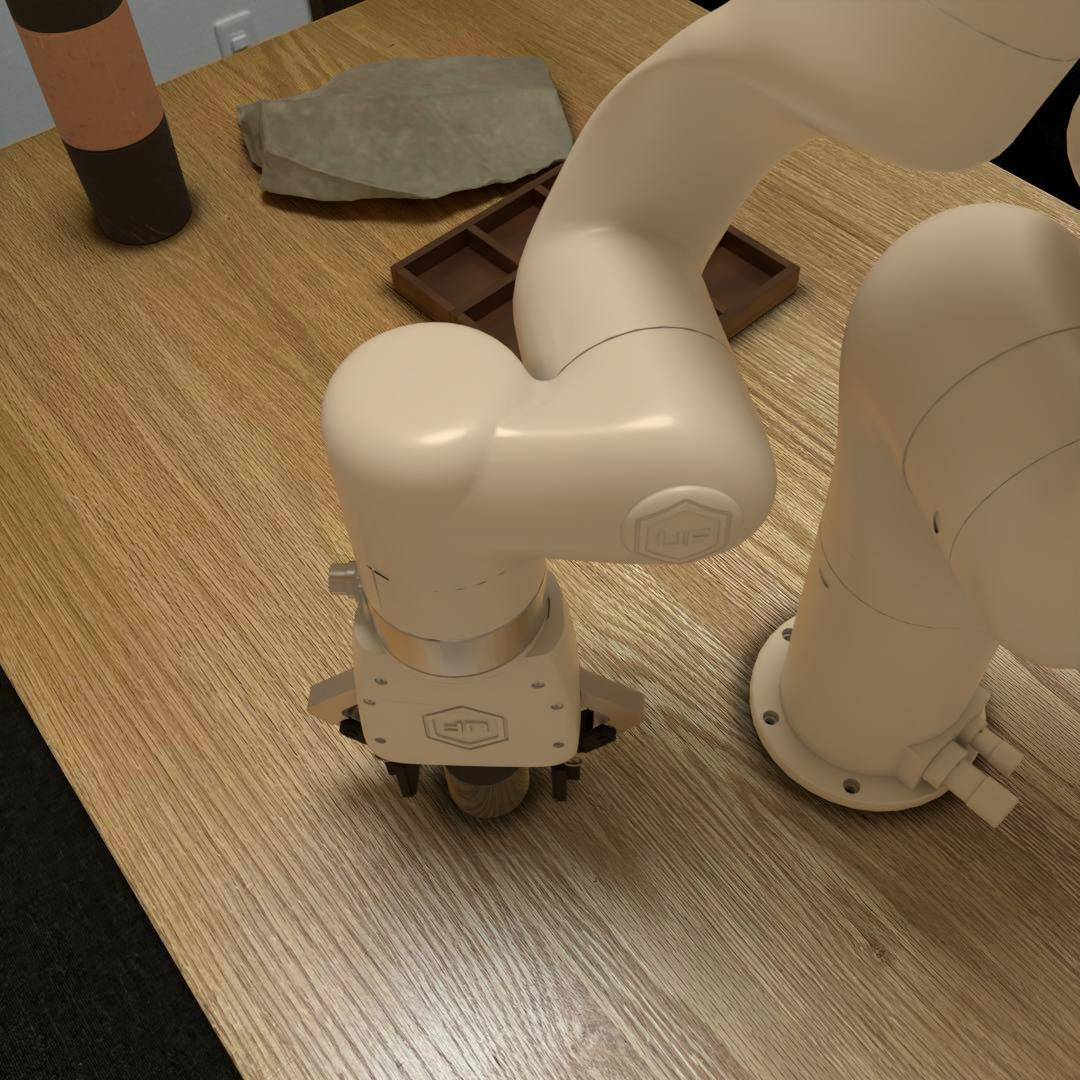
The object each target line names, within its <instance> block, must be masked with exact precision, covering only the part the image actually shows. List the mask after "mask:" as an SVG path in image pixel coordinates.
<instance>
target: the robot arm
mask: <svg viewBox="0 0 1080 1080" xmlns="http://www.w3.org/2000/svg"><path fill="white" fill-rule="evenodd" d="M1079 59H1080V0H728V1H727V2H726V3H724V4H722V5H721V6H719V7H718V8H716V9H714V10H712V11H710V12H708V13H706V14H705V15H703V16H701V17H699V18H698V19H697V20H695V21H693V22H692V23H690V24H689V25H688V26H686V27H684V28H683V29H682V30H680V31H679V32H677V33H676V34H675V35H674V36H673V37H671V38H670V39H669V40H667V41H666V42H665V43H664V44H662V46H660V47H658V49H656V50H655V52H653V53H652V54H651V55H650V56H648V57H647V58H646V59H645V60H643V61H641V63H640V64H639V65H638V66H636V67H635V68H634V69H632V70H631V71H630V72H628V73H627V75H625V76H624V77H623V78H622V79H621V80H620V81H619V82H617V84H615V86H614V87H613V88H612V89H611V90H610V91H609V93H608V94H607V95H606V96H605V97H604V98H603V100H601V102H600V103H599V104H598V105H597V106H596V108H595V109H594V111H593V112H592V114H591V115H590V117H589V118H588V120H587V121H586V122H585V124H584V126H583V128H582V129H581V131H580V133H579V135H578V136H577V138H576V139H575V142H573V147H572V149H571V151H570V153H569V155H568V157H567V159H566V161H565V163H564V165H563V167H562V169H561V171H560V173H559V175H558V177H557V179H556V181H555V183H554V185H553V187H552V189H551V191H550V193H549V195H548V197H547V199H546V201H545V203H544V205H543V207H542V209H541V211H540V213H539V215H538V217H537V219H536V221H535V224H534V226H533V228H532V231H531V233H530V235H529V238H528V240H527V243H526V245H525V248H524V251H523V254H522V257H521V260H520V263H519V266H518V271H517V275H516V281H515V287H514V294H513V317H514V325H515V330H516V335H517V341H518V346H519V350H520V354H521V359H522V363H523V364H522V363H521V361H520V360H519V359H518V358H517V357H516V356H515V354H514V353H513V352H512V351H511V350H510V349H509V348H507V347H506V346H505V345H504V344H502V343H501V342H500V341H498V340H497V339H495V338H493V337H492V336H490V335H488V334H486V333H484V332H482V331H480V330H477V329H474V328H471V327H468V326H464V325H459V324H453V323H442V322H435V321H429V322H416V323H411V324H406V325H401V326H397V327H395V328H391V329H388V330H385V331H383V332H381V333H379V334H377V335H375V336H372V337H370V338H369V339H367V340H366V341H364V342H363V343H362V344H360V345H359V346H357V347H356V348H354V349H353V350H352V351H351V352H350V353H349V354H347V356H346V357H345V358H344V360H342V361H341V363H340V364H339V365H338V366H337V368H336V369H335V371H334V372H333V373H332V376H331V377H330V379H329V380H328V383H327V386H326V389H325V391H324V395H323V397H322V403H321V410H320V431H321V437H322V441H323V447H324V452H325V455H326V459H327V462H328V465H329V469H330V473H331V477H332V480H333V484H334V489H335V492H336V496H337V499H338V503H339V507H340V510H341V513H342V517H343V521H344V524H345V529H346V532H347V535H348V539H349V542H350V545H351V546H350V547H351V549H352V554H353V557H354V560H348V562H347V563H346V562H345V563H339V562H338V563H337V562H332V563H331V564H330V566H329V570H328V592H329V594H330V595H332V596H347V598H348V599H350V600H355V603H358V604H357V607H356V610H355V613H354V617H353V623H352V635H351V638H352V639H351V649H352V650H351V653H352V654H351V655H352V668H349V669H347V670H345V671H343V672H341V673H338V674H336V675H334V676H331V677H329V678H327V679H324V680H322V681H319V682H317V683H315V684H312V686H310V688H309V693H308V699H307V704H306V712H307V713H308V714H310V715H311V716H313V717H315V718H317V719H319V720H321V721H323V722H325V723H327V724H329V725H331V726H335V725H337V726H338V728H339V729H338V732H339V733H340V734H341V736H344V737H345V738H347V739H351V740H354V741H356V742H359V743H361V744H363V745H364V746H365V745H366V746H367V747H368V748H369V749H370V751H371V752H372V758H373V759H374V760H376V761H379V762H384V764H385V768H386V771H387V774H388V776H395V778H396V780H397V783H398V784H397V785H398V786H399V790H400V793H401V796H402V798H405V799H406V798H408V799H410V798H413V797H414V796H417V795H418V786H419V780H420V779H419V778H420V769H421V765H433V766H443V765H457V766H498V767H529V768H543V767H544V768H545V767H550V771H551V772H550V775H551V776H550V777H551V789H552V790H551V791H552V792H551V793H552V800H556V802H557V803H567V793H568V791H567V790H568V781H581V766H583V765H584V764H585V763H586V754H588V753H591V752H593V751H596V750H597V749H600V748H602V747H604V746H607V745H609V744H611V743H614V742H616V741H617V734H619V733H620V732H621V733H626V732H627V731H629V730H631V729H632V728H635V727H636V726H637V725H639V724H642V723H643V722H644V721H646V696H645V694H644V693H642V692H640V691H638V690H635V689H634V688H631V687H628V686H626V685H624V684H621V683H619V682H616V681H614V680H611V679H609V678H607V677H605V676H602V675H600V674H598V673H595V672H593V671H590V670H588V669H586V668H583V667H581V662H580V652H579V648H578V641H577V640H578V639H577V635H576V630H575V625H574V621H573V617H572V613H571V610H570V608H569V605H568V601H567V599H566V597H565V594H564V592H563V590H562V588H561V585H560V584H559V582H558V580H557V578H556V577H555V575H554V574H553V572H552V571H550V570H549V569H548V567H547V560H548V559H549V560H563V561H564V560H565V561H577V562H579V561H580V562H589V563H604V564H617V565H641V566H643V565H645V566H646V565H647V566H650V565H653V566H654V565H666V566H676V565H677V566H678V565H688V564H693V563H696V562H700V561H703V560H706V559H710V558H712V557H715V556H718V555H722V554H724V553H726V552H729V551H730V550H732V549H734V548H737V547H738V546H740V545H741V544H743V543H745V541H747V540H748V539H750V538H751V537H752V536H754V535H755V533H756V532H757V531H758V530H759V529H760V528H761V527H762V526H763V525H764V523H765V522H766V520H767V518H768V517H769V515H770V513H771V511H772V510H773V506H774V503H775V499H776V495H777V488H778V486H777V485H778V476H777V475H778V474H777V466H776V460H775V457H774V453H773V450H772V447H771V443H770V440H769V438H768V435H767V432H766V430H765V427H764V424H763V422H762V420H761V418H760V415H759V413H758V410H757V407H756V405H755V403H754V400H753V399H752V396H751V393H750V391H749V389H748V386H747V384H746V382H745V379H744V377H743V376H744V375H743V374H742V371H741V370H740V366H739V364H738V361H737V359H736V357H735V354H734V352H733V349H732V347H731V345H730V341H729V340H727V337H726V335H725V333H724V330H723V328H722V325H721V323H720V320H719V318H718V316H717V313H716V311H715V308H714V306H713V303H712V301H711V298H710V296H709V293H708V290H707V287H706V285H705V282H704V280H703V278H702V273H703V270H704V268H705V266H706V264H707V262H708V260H709V258H710V256H711V255H712V253H713V251H714V250H715V248H716V246H717V245H718V243H719V242H720V240H721V238H722V237H723V235H724V234H725V232H726V230H727V229H728V227H729V226H730V225H732V222H733V221H734V220H735V218H736V216H737V215H738V213H740V211H741V209H742V207H744V204H745V203H746V202H747V200H748V198H749V197H750V196H751V194H752V193H753V192H754V191H755V190H756V188H757V187H758V185H759V184H760V183H761V182H762V181H763V179H764V178H766V176H768V175H769V173H770V172H771V171H772V170H773V169H774V168H775V167H776V166H777V165H778V164H780V162H783V160H785V158H787V157H789V155H791V154H793V152H795V151H796V150H798V149H800V148H801V147H803V146H805V145H807V144H808V143H810V142H813V141H814V140H815V141H816V140H818V139H820V138H824V137H826V138H827V139H830V140H832V141H835V142H836V143H838V144H840V145H842V146H844V147H847V148H850V150H851V149H852V150H853V151H856V152H859V153H861V154H863V155H866V156H869V157H870V158H871V157H872V158H874V159H877V160H880V161H882V162H885V163H887V164H889V165H893V166H897V167H901V168H904V169H907V170H908V169H909V170H913V171H918V172H929V173H938V174H939V173H940V174H941V173H942V174H956V173H959V172H960V173H961V172H965V171H968V170H972V169H977V168H980V167H982V166H983V165H985V164H986V163H987V164H988V163H989V162H990V161H992V160H994V159H996V158H997V157H999V156H1001V155H1002V154H1003V152H1004V151H1006V149H1008V148H1009V147H1010V146H1011V144H1012V143H1014V141H1015V140H1016V139H1017V137H1018V136H1019V135H1020V134H1021V132H1022V131H1023V130H1024V128H1025V127H1026V126H1027V125H1028V123H1030V120H1032V118H1033V117H1034V115H1035V114H1036V113H1037V112H1038V110H1039V109H1040V108H1041V107H1042V106H1043V104H1044V103H1045V102H1046V100H1047V99H1048V98H1049V97H1050V95H1051V94H1052V93H1053V91H1054V90H1055V89H1056V88H1057V87H1058V86H1059V84H1060V83H1061V82H1062V80H1063V79H1064V78H1065V77H1066V75H1067V74H1068V73H1069V72H1070V70H1071V69H1072V68H1073V67H1074V65H1075V64H1076V63H1077V61H1078V60H1079ZM1066 151H1067V153H1066V154H1067V158H1068V161H1069V164H1070V167H1071V170H1072V173H1073V176H1074V179H1075V181H1076V182H1077V185H1078V186H1079V187H1080V94H1079V95H1078V97H1077V99H1076V101H1075V103H1074V105H1073V107H1072V110H1071V113H1070V117H1069V121H1068V125H1067V129H1066ZM837 401H838V403H837V433H836V444H835V453H834V460H833V465H832V471H831V474H830V475H831V476H830V481H829V485H828V488H827V493H826V497H825V502H824V505H823V509H822V511H821V515H820V519H819V522H818V527H817V531H816V535H815V539H814V543H813V546H812V549H811V556H810V559H809V563H808V566H807V570H806V574H805V579H804V583H803V586H802V591H801V594H800V599H799V602H798V605H797V609H796V614H795V615H793V616H792V617H791V618H789V619H788V620H786V621H785V622H783V623H781V624H780V625H779V626H778V628H776V630H774V631H773V632H772V633H771V634H770V635H769V636H768V638H767V639H766V641H765V643H764V644H763V645H762V647H761V649H760V650H759V652H758V654H757V658H756V659H755V662H754V666H753V668H752V673H751V677H750V683H749V708H750V713H751V718H752V719H751V720H752V723H753V726H754V728H755V731H756V733H757V736H758V738H759V740H760V743H761V744H762V746H763V747H764V748H765V750H766V752H767V753H768V755H769V756H770V758H771V759H772V760H773V762H774V763H775V764H776V765H777V766H778V767H779V768H780V769H781V770H782V771H783V772H784V773H785V774H786V775H787V777H788V778H790V779H792V781H794V782H796V783H797V784H799V785H800V786H801V787H803V788H804V789H805V790H807V791H808V792H810V793H812V794H814V795H816V796H818V797H819V798H820V797H821V798H822V799H824V800H825V801H828V802H830V803H834V804H837V805H840V806H843V807H847V808H848V809H849V808H850V809H852V810H853V809H855V810H862V811H867V812H868V811H869V812H897V811H898V812H899V811H903V810H908V809H911V808H916V807H920V806H922V805H925V804H927V803H929V802H932V801H934V800H935V799H938V798H940V797H942V796H943V795H944V794H946V793H947V792H948V791H950V792H951V793H952V794H953V795H955V797H957V798H959V800H961V801H962V802H963V803H964V805H965V806H966V807H968V808H969V809H970V810H971V811H973V813H975V814H976V815H977V816H978V817H980V818H981V819H982V820H984V822H986V823H987V824H988V825H989V826H990V827H992V828H993V829H997V827H998V826H1000V824H1001V823H1002V822H1003V821H1004V820H1005V819H1006V818H1007V817H1008V815H1009V814H1010V813H1011V811H1012V810H1013V809H1014V808H1016V805H1017V804H1018V803H1019V801H1020V798H1019V797H1017V796H1016V795H1015V794H1013V793H1012V792H1011V791H1010V790H1009V789H1007V787H1005V786H1003V785H1002V784H1001V783H1000V782H998V781H997V780H995V779H994V778H993V777H992V776H990V775H989V776H988V775H986V773H984V772H983V771H982V770H980V769H978V767H976V765H974V764H973V763H974V761H975V759H976V758H977V756H978V754H979V755H981V756H982V757H983V758H984V759H986V762H987V763H988V764H990V765H991V766H992V767H994V768H995V769H997V770H998V771H999V772H1000V773H1001V774H1002V775H1004V776H1005V777H1009V776H1010V775H1011V774H1012V773H1013V772H1014V771H1015V769H1017V767H1018V766H1020V764H1021V762H1022V761H1023V760H1024V758H1025V755H1024V754H1023V753H1021V752H1020V751H1019V750H1017V749H1016V748H1015V747H1014V746H1012V745H1011V744H1010V743H1009V742H1007V741H1006V740H1005V739H1003V740H1002V739H1001V738H1000V737H999V736H997V735H996V734H995V733H993V732H992V731H990V730H989V729H988V728H987V727H988V725H989V723H988V721H987V714H986V706H987V704H988V702H989V700H990V699H991V697H992V694H991V692H990V691H988V690H987V689H986V688H984V687H983V686H981V685H980V683H981V681H982V679H983V677H984V675H985V673H986V672H987V670H988V668H989V666H990V664H991V662H992V660H993V657H994V656H995V655H996V652H997V651H998V649H999V647H1000V645H1001V646H1002V647H1003V648H1004V649H1006V650H1007V651H1008V652H1009V653H1011V654H1013V655H1014V656H1016V657H1018V658H1020V659H1022V660H1024V661H1027V662H1028V663H1030V664H1033V665H1037V666H1041V667H1044V668H1045V667H1046V668H1051V669H1056V670H1080V238H1079V237H1078V236H1077V235H1075V234H1074V233H1073V232H1072V231H1070V230H1069V229H1068V228H1067V227H1065V226H1063V224H1061V223H1060V222H1059V221H1056V220H1054V219H1053V218H1051V217H1049V216H1047V215H1045V214H1043V213H1041V212H1040V211H1036V210H1034V209H1032V208H1028V207H1025V206H1022V205H1017V204H1012V203H1008V202H1006V203H1005V202H989V201H987V202H977V203H969V204H964V205H959V206H957V207H956V206H955V207H952V208H951V207H950V208H949V209H946V210H943V211H941V212H938V213H935V214H934V215H931V216H929V217H927V218H926V219H923V220H922V221H920V222H919V223H917V224H916V225H914V226H913V227H911V228H910V229H908V230H907V231H905V232H904V233H903V234H901V235H900V236H899V237H898V238H897V239H896V240H895V241H894V242H893V243H891V244H890V245H889V246H888V247H887V249H886V250H885V251H884V252H883V253H882V254H881V255H880V256H879V257H878V259H877V260H876V261H875V262H874V264H873V265H872V266H871V268H870V270H869V271H868V272H867V273H866V276H865V277H864V279H863V281H862V283H861V284H860V286H859V288H858V290H857V292H856V295H855V297H854V299H853V302H852V304H851V306H850V309H849V312H848V316H847V320H846V323H845V328H844V332H843V336H842V342H841V349H840V359H839V370H838V400H837ZM768 723H770V724H768ZM846 790H849V791H851V792H852V793H850V792H848V791H846Z"/></svg>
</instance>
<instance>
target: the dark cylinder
mask: <svg viewBox="0 0 1080 1080" xmlns="http://www.w3.org/2000/svg"><path fill="white" fill-rule="evenodd" d="M442 766H443V769H444V774H445V779H446V783H447V788H448V791H449V795H450V797H451V799H452V800H453V802H454V804H455V805H456V806H457V807H458V808H459V809H460V810H462V812H464V813H466V814H467V815H469V816H472V817H476V818H481V819H494V818H498V817H502V816H504V815H507V814H509V813H510V812H512V811H514V810H515V809H516V808H517V807H518V806H519V805H520V804H521V803H522V802H523V801H524V799H525V797H526V796H527V794H528V791H529V787H530V779H531V778H530V767H498V766H457V765H442Z"/></svg>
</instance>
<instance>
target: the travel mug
mask: <svg viewBox="0 0 1080 1080" xmlns="http://www.w3.org/2000/svg"><path fill="white" fill-rule="evenodd" d="M4 2H5V5H6V6H7V9H8V11H9V14H10V16H11V19H12V21H13V24H14V27H15V29H16V32H17V34H18V37H19V38H20V41H21V43H22V46H23V49H24V51H25V53H26V54H25V55H26V56H27V59H28V61H29V64H30V66H31V68H32V71H33V73H34V76H35V78H36V81H37V83H38V85H39V88H40V91H41V93H42V96H43V98H44V101H45V104H46V106H47V109H48V111H49V113H50V115H51V118H52V121H53V123H54V126H55V128H56V131H57V133H58V135H59V137H60V139H61V142H62V145H63V146H64V149H65V151H66V153H67V155H68V157H69V160H70V162H71V164H72V166H73V168H74V170H75V172H76V175H77V177H78V179H79V181H80V183H81V186H82V188H83V190H84V193H85V194H86V197H87V199H88V201H89V204H90V206H91V207H92V210H93V212H94V214H95V216H96V218H97V220H98V223H99V224H100V227H101V229H102V230H103V232H104V233H105V234H106V235H107V236H108V237H109V238H110V239H113V240H114V241H116V242H118V243H122V244H126V245H146V244H152V243H156V242H159V241H162V240H164V239H167V238H169V237H171V236H172V235H174V234H176V233H177V232H179V231H180V230H181V229H182V228H183V227H184V226H185V225H187V222H188V221H189V219H190V217H191V213H192V202H191V199H190V196H189V191H188V188H187V184H186V181H185V178H184V174H183V170H182V167H181V163H180V160H179V157H178V153H177V149H176V147H175V143H174V140H173V136H172V133H171V129H170V126H169V122H168V118H167V115H166V112H165V109H164V106H163V102H162V100H161V97H160V94H159V91H158V88H157V85H156V82H155V79H154V77H153V73H152V70H151V67H150V64H149V61H148V58H147V56H146V53H145V50H144V47H143V44H142V41H141V38H140V36H139V35H140V34H139V32H138V30H137V29H138V28H137V26H136V24H135V20H134V17H133V15H132V12H131V9H130V5H129V3H128V0H4Z"/></svg>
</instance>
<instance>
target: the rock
mask: <svg viewBox="0 0 1080 1080" xmlns="http://www.w3.org/2000/svg"><path fill="white" fill-rule="evenodd" d="M235 114H236V124H237V127H238V129H239V131H240V133H241V134H242V138H243V141H244V144H245V147H246V149H247V151H248V155H249V158H250V160H251V162H252V163H253V164H255V165H256V166H257V167H259V168H261V177H260V180H259V181H258V183H257V185H258V186H259V189H261V190H264V191H266V192H269V193H271V194H277V195H282V196H283V195H284V196H285V195H286V196H287V195H288V196H294V197H300V198H301V197H302V198H307V199H310V200H316V201H319V202H343V201H346V202H353V201H357V200H358V201H359V200H361V199H364V200H365V199H366V200H367V199H388V198H390V199H412V200H431V199H438V198H441V197H444V196H447V195H449V194H451V193H455V192H461V191H467V190H473V189H479V188H485V187H487V186H490V185H495V184H501V185H502V184H509V183H513V182H516V181H518V179H523V178H525V177H527V176H530V175H534V174H537V173H538V172H540V171H542V170H544V169H547V168H549V167H550V166H552V165H555V164H559V163H560V164H561V163H563V162H565V161H566V159H567V157H568V155H569V153H570V151H571V149H572V147H573V145H574V138H573V134H572V131H571V128H570V125H569V122H568V120H567V117H566V115H565V112H564V106H563V104H562V103H561V100H560V97H559V93H558V90H557V88H556V87H555V84H554V81H553V76H552V73H551V70H550V67H549V66H548V63H547V60H545V59H544V58H542V57H538V56H531V55H524V56H516V57H515V56H512V55H511V56H506V57H494V56H491V55H488V54H484V55H483V54H482V55H481V54H480V55H469V54H462V55H453V56H452V55H449V56H438V57H434V58H431V59H419V58H411V57H393V58H390V59H386V60H383V61H375V62H367V63H363V64H359V65H356V66H352V67H350V68H348V69H346V70H345V71H343V72H340V73H338V74H335V75H334V76H332V77H330V79H329V80H328V81H327V82H326V83H324V84H323V85H322V86H320V87H319V88H317V89H314V90H312V91H308V92H304V93H300V94H297V95H292V96H287V97H281V98H277V99H269V98H268V99H267V98H266V99H265V98H261V99H257V100H256V101H253V102H248V103H241V104H239V105H237V106H236V108H235Z"/></svg>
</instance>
